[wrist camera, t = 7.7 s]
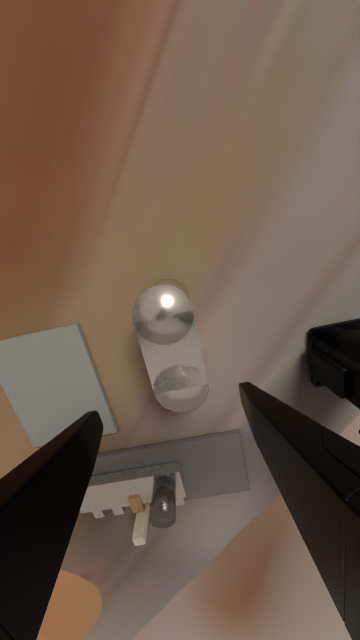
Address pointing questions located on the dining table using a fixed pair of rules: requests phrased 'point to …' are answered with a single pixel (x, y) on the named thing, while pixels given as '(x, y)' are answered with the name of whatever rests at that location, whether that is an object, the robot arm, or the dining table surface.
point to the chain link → (171, 346)
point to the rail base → (184, 467)
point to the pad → (52, 382)
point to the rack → (138, 493)
